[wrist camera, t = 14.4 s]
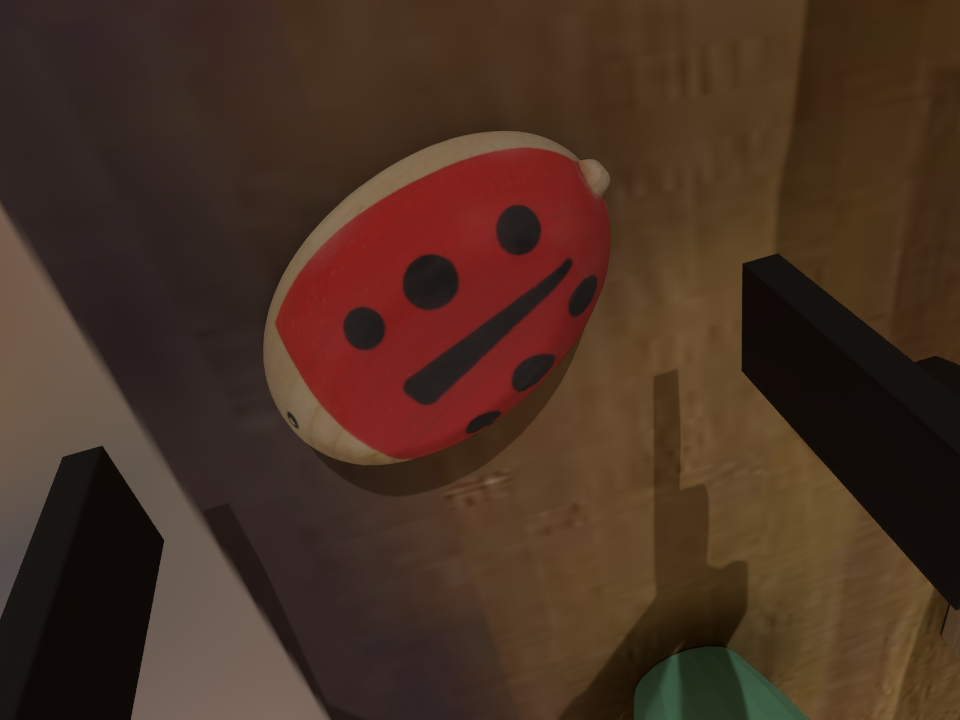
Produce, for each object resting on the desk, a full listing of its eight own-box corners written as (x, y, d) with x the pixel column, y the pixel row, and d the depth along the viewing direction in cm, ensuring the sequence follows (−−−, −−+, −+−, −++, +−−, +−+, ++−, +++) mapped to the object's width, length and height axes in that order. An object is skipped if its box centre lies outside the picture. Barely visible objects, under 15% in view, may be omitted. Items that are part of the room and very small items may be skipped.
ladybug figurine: (198, 343, 19) (179, 434, 16) (477, 32, 16) (515, 72, 13) (400, 464, 22) (414, 557, 19) (658, 225, 19) (721, 291, 16)
